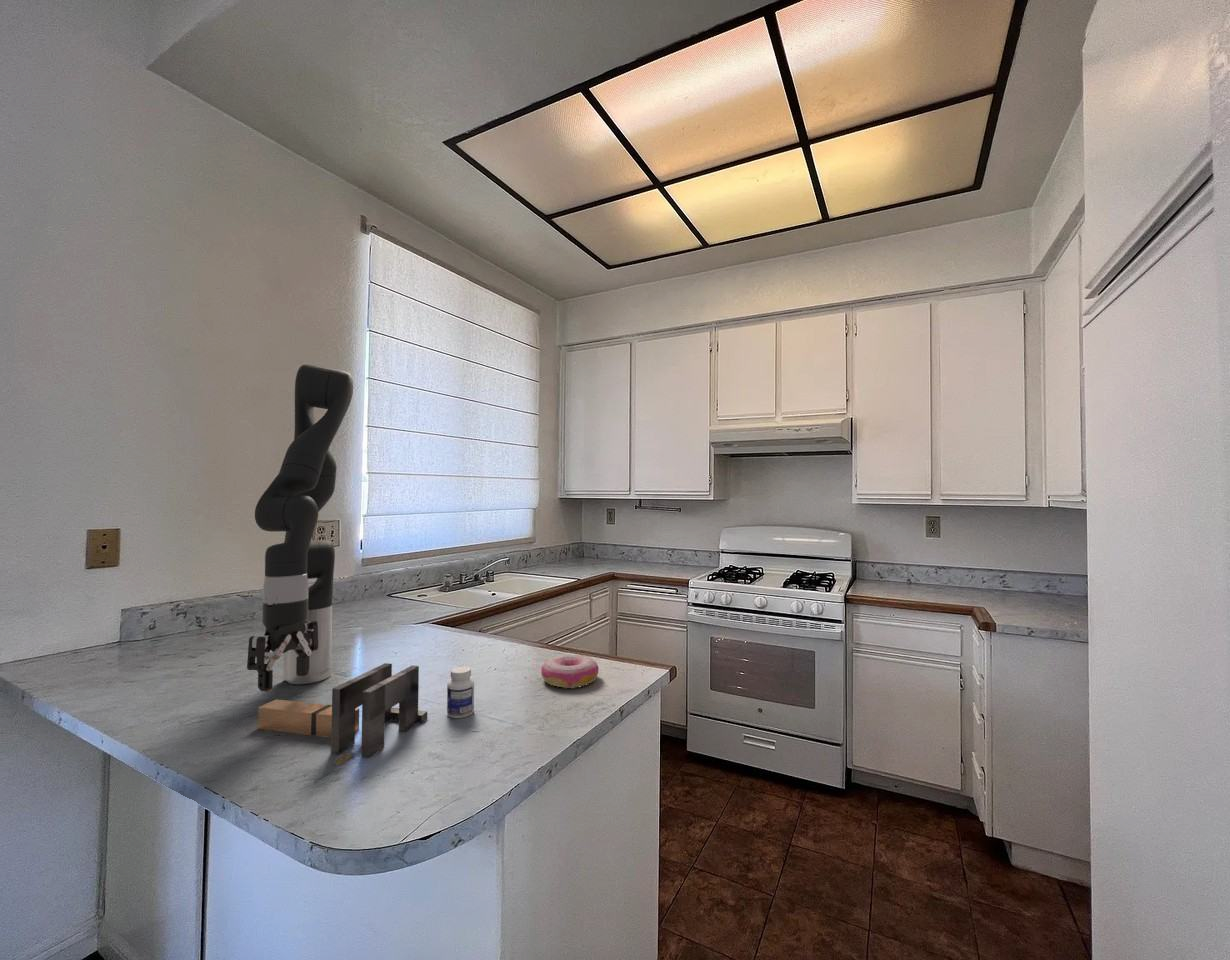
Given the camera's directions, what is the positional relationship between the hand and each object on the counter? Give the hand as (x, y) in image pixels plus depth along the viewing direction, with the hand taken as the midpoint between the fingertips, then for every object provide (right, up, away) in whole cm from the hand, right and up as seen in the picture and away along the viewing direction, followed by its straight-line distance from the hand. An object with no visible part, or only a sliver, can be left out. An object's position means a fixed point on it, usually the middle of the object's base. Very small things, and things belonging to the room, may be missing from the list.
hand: (284, 682), depth 100 cm
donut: (+53, -9, +25) cm, 59 cm away
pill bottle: (+32, -9, +6) cm, 34 cm away
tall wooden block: (+5, -8, -2) cm, 10 cm away
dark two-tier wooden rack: (+20, -8, -5) cm, 22 cm away
